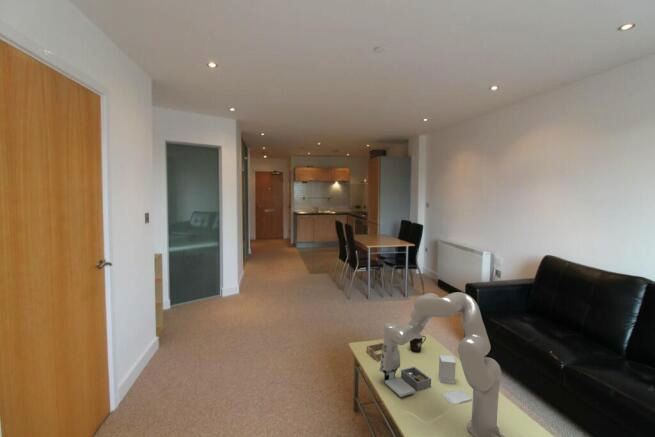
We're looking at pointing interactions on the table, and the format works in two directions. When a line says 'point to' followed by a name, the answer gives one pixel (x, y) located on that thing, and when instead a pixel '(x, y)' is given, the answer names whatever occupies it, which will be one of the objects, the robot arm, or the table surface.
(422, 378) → the walnut block
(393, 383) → the lid
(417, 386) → the tub
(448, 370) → the supplement box
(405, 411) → the table surface
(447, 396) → the hard drive
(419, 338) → the coffee mug
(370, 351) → the frame
